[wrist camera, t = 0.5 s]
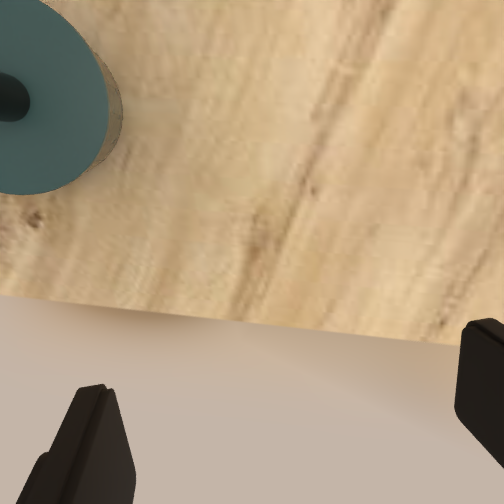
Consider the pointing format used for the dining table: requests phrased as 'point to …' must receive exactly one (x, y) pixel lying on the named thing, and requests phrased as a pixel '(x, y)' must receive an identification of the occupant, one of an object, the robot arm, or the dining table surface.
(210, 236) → the dining table surface
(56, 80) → the pot lid
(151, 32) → the dining table surface
